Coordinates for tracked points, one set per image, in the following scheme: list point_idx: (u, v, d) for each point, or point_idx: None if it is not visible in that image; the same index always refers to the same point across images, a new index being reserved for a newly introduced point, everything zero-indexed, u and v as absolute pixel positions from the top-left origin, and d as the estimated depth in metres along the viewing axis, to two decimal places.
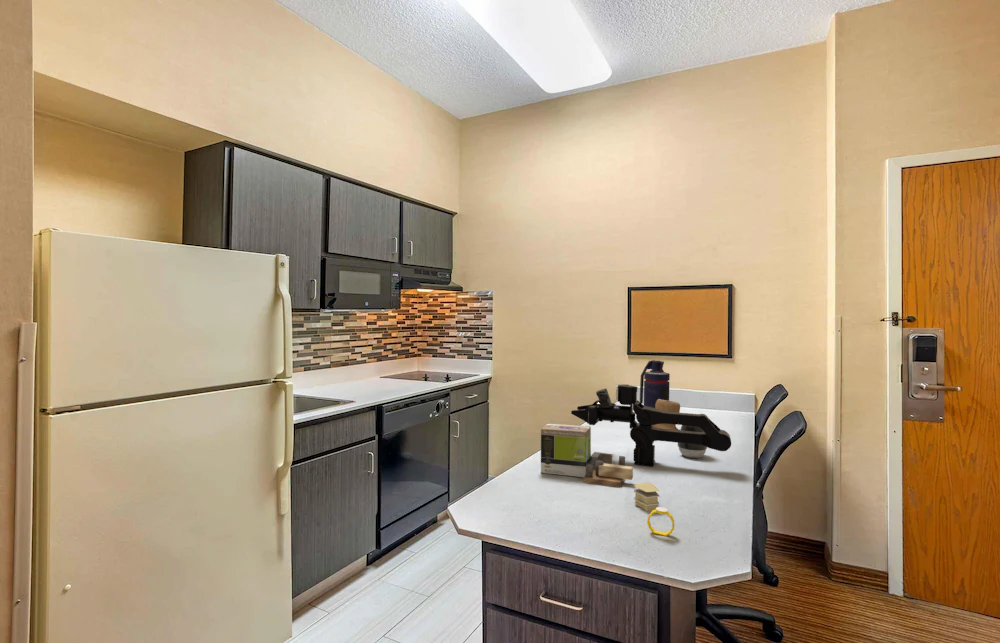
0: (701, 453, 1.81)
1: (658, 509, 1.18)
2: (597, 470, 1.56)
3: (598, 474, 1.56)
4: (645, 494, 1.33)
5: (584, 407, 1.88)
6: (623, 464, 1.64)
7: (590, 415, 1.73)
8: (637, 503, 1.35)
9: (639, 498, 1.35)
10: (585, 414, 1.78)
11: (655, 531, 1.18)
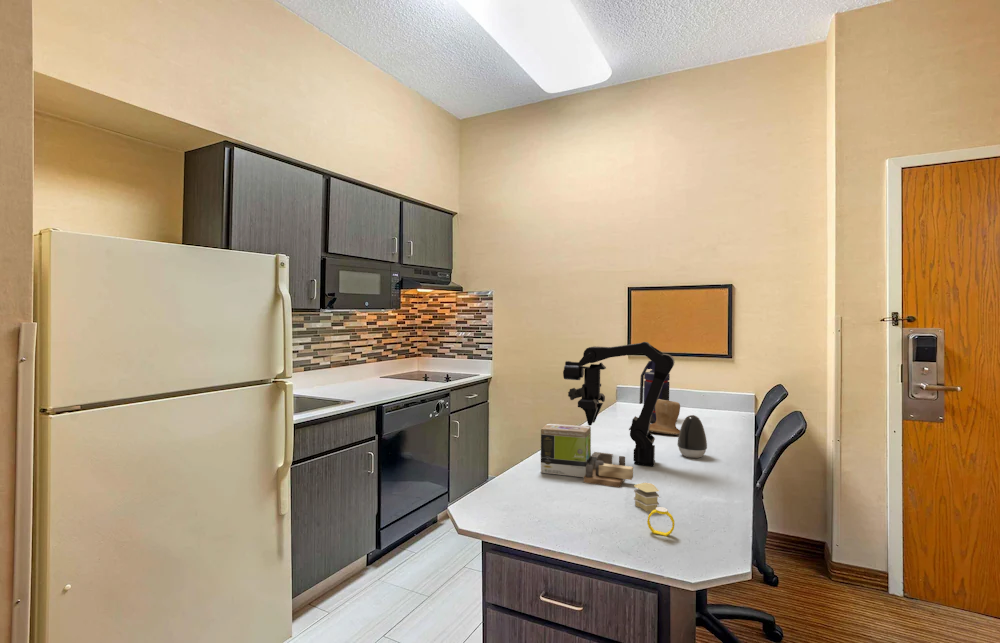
0: (701, 453, 1.81)
1: (658, 509, 1.18)
2: (597, 470, 1.56)
3: (598, 474, 1.56)
4: (645, 494, 1.33)
5: None
6: (623, 464, 1.64)
7: (585, 406, 1.74)
8: (637, 503, 1.35)
9: (639, 498, 1.35)
10: (589, 410, 1.79)
11: (655, 531, 1.18)
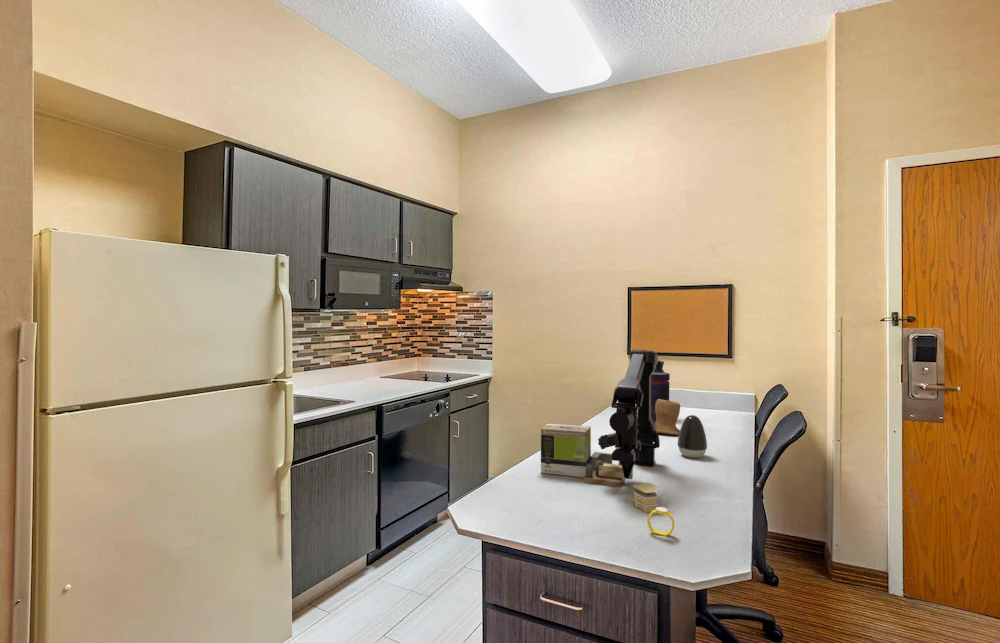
0: (701, 453, 1.81)
1: (658, 509, 1.18)
2: (597, 470, 1.56)
3: (598, 474, 1.56)
4: (644, 495, 1.33)
5: None
6: None
7: (621, 459, 1.43)
8: (636, 504, 1.35)
9: (638, 499, 1.35)
10: None
11: (655, 531, 1.18)
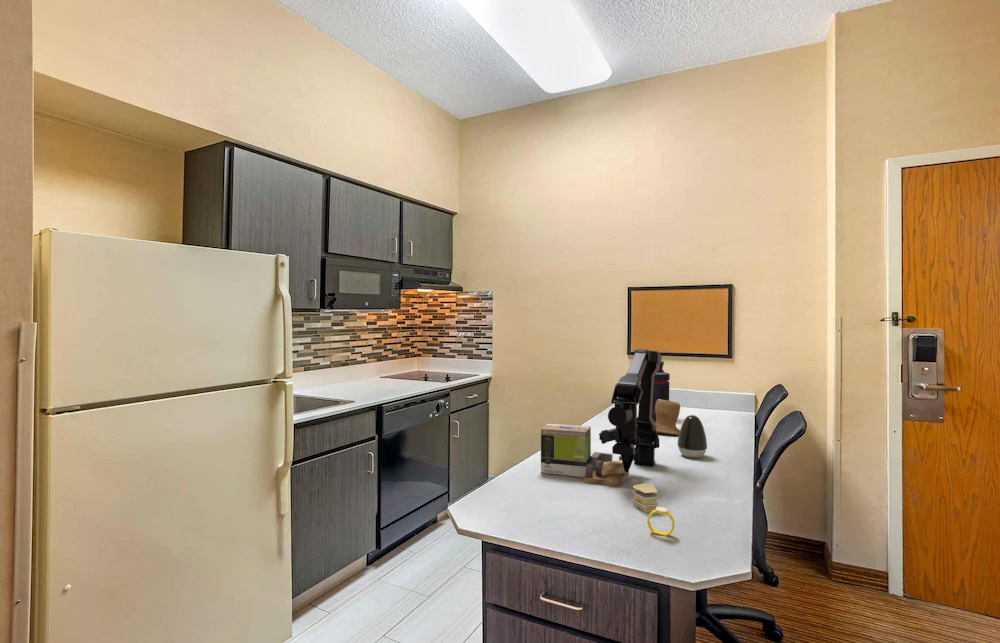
0: (701, 453, 1.81)
1: (658, 509, 1.18)
2: (600, 470, 1.56)
3: (601, 474, 1.56)
4: (643, 495, 1.33)
5: None
6: None
7: (621, 452, 1.48)
8: (636, 504, 1.35)
9: (638, 499, 1.34)
10: (626, 455, 1.55)
11: (655, 531, 1.18)
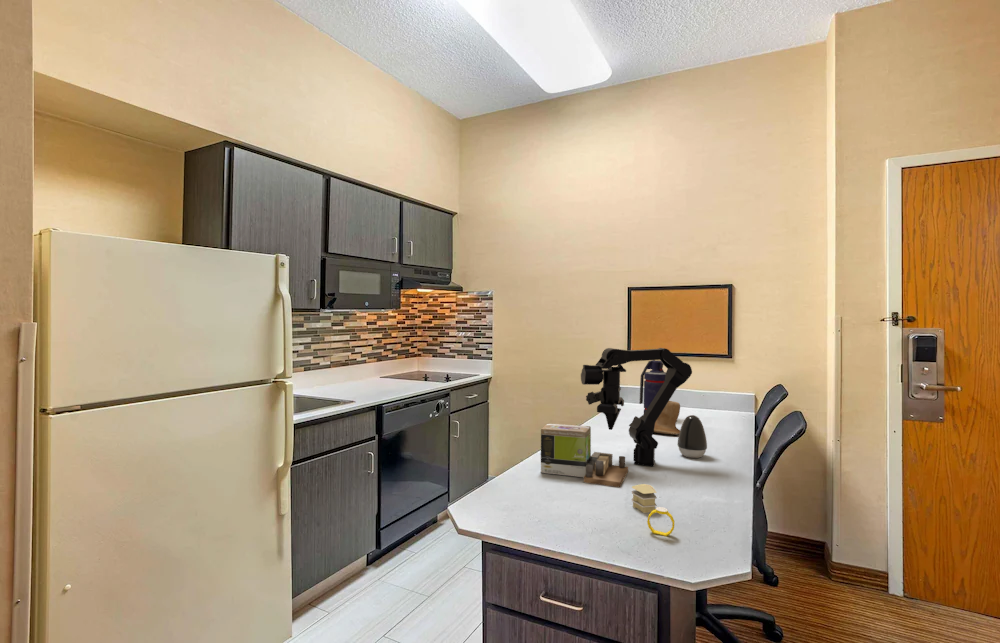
0: (701, 453, 1.81)
1: (658, 509, 1.18)
2: (602, 470, 1.56)
3: (603, 473, 1.56)
4: (642, 496, 1.32)
5: None
6: (623, 464, 1.64)
7: (605, 411, 1.65)
8: (634, 505, 1.34)
9: (636, 500, 1.34)
10: (610, 414, 1.73)
11: (655, 531, 1.18)
